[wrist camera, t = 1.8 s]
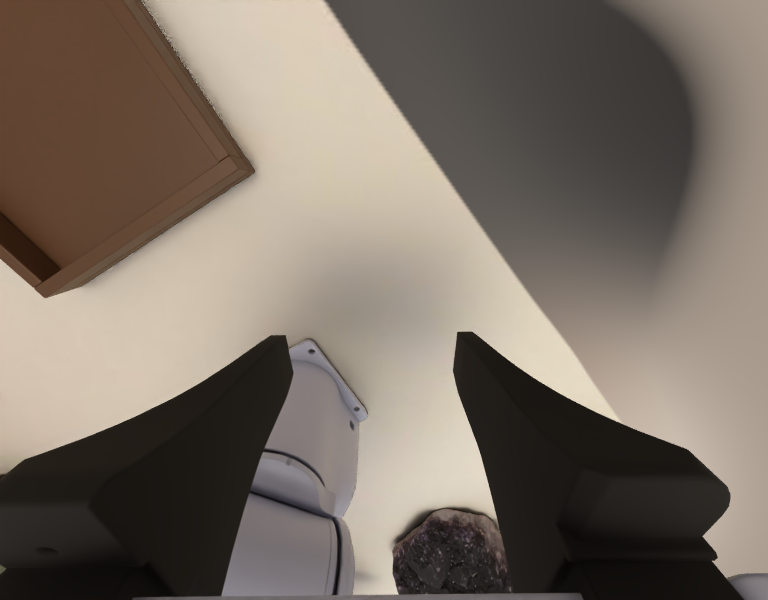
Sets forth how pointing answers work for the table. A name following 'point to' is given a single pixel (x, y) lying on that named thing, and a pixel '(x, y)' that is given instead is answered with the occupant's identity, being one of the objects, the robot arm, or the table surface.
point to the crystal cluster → (452, 557)
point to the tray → (98, 139)
